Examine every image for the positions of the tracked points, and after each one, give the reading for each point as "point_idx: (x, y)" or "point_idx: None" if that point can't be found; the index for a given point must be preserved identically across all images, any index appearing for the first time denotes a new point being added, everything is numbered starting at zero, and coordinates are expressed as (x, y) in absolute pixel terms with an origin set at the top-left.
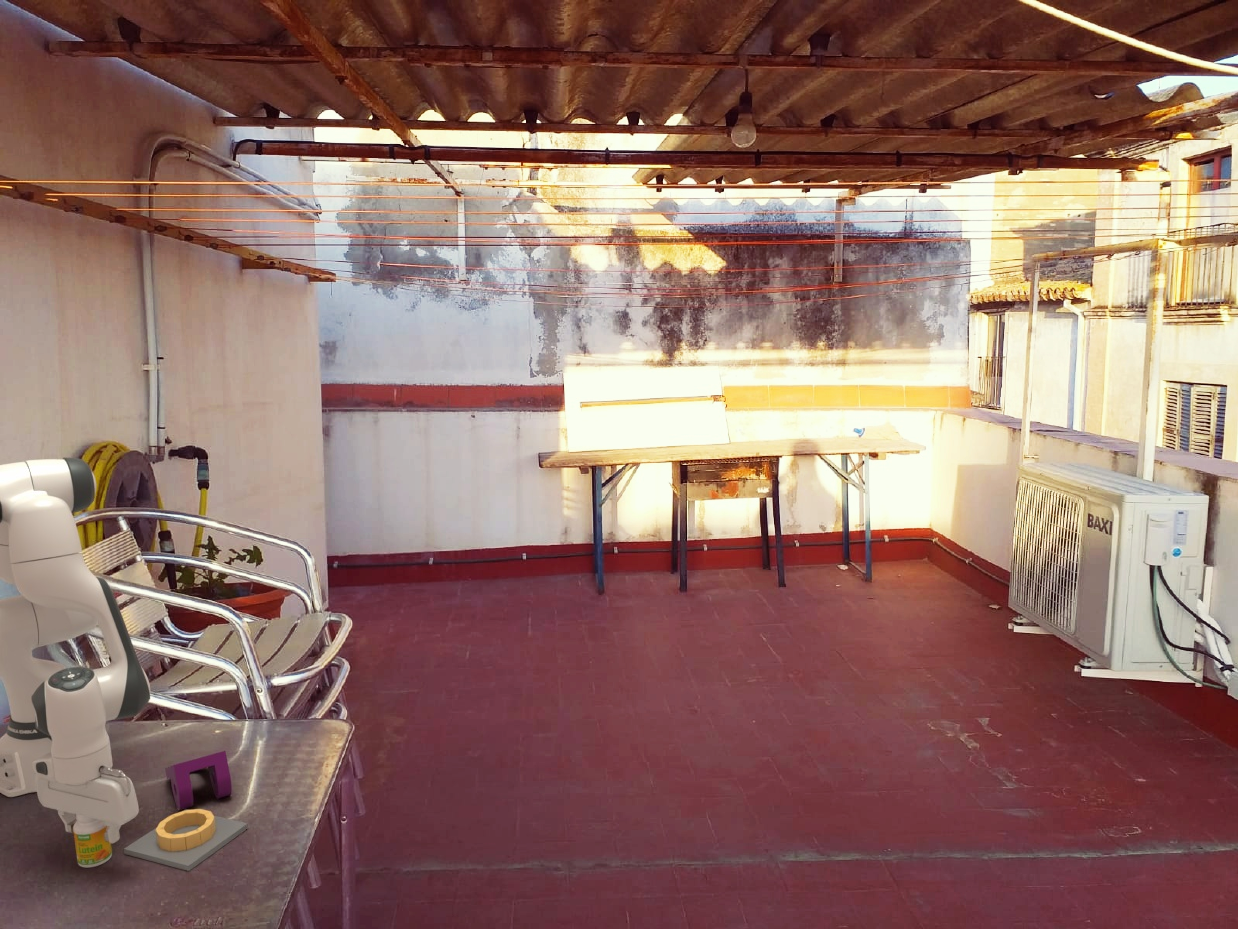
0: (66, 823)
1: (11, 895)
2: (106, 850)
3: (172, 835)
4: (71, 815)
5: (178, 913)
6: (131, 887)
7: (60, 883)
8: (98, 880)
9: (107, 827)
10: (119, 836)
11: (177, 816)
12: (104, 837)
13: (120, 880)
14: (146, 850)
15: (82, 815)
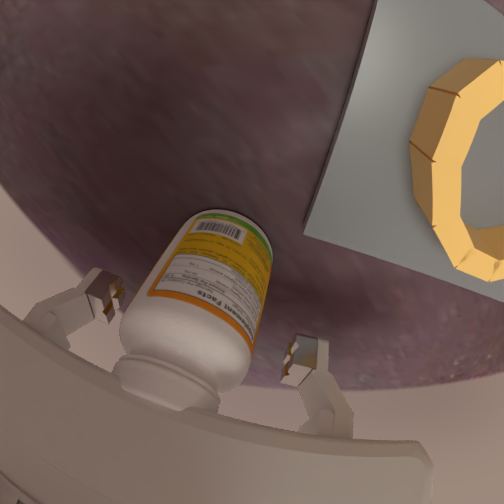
0: (90, 320)
1: None
2: (267, 286)
3: (495, 266)
4: (70, 311)
5: (476, 372)
6: (393, 340)
7: None
8: (301, 323)
9: (249, 334)
10: (328, 347)
11: (487, 111)
12: (258, 327)
13: (358, 324)
14: (393, 244)
15: None
